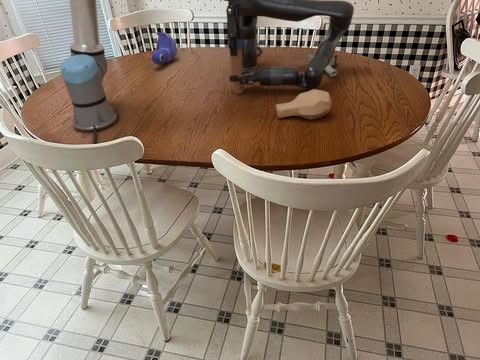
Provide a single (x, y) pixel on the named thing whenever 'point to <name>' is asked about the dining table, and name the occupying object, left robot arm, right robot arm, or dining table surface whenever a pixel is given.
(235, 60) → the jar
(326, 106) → the squash
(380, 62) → the dining table surface
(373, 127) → the dining table surface
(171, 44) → the toy
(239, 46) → the lid
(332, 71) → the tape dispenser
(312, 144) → the dining table surface
